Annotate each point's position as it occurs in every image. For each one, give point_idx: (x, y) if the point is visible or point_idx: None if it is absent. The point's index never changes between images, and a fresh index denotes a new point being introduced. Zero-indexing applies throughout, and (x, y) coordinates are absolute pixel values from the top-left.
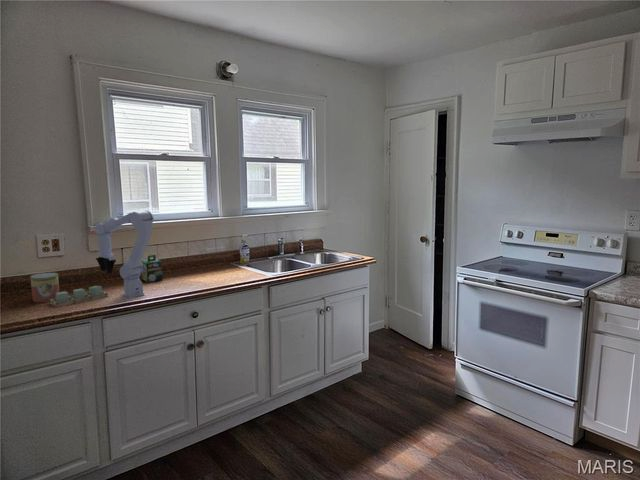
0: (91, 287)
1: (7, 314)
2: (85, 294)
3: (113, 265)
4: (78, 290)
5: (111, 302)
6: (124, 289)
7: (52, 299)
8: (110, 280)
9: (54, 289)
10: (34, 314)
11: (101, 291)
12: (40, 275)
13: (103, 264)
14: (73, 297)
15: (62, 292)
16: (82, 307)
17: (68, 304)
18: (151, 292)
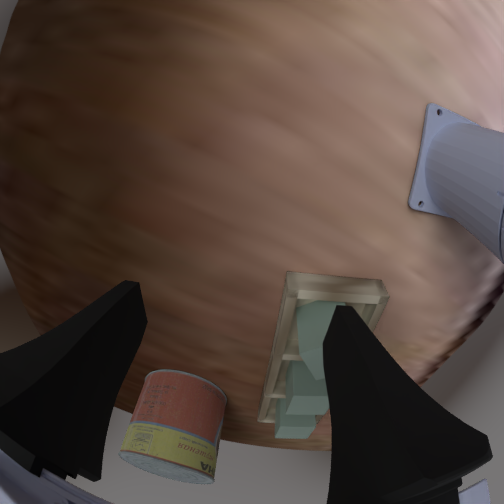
0: (323, 372)
1: (268, 446)
2: (301, 359)
3: (416, 386)
4: (318, 408)
5: (452, 304)
6: (458, 222)
7: (264, 419)
8: (18, 95)
9: (216, 428)
10: (323, 433)
11: None
12: (157, 470)
13: (99, 367)
14: (286, 384)
15: (289, 431)
16: None
17: None
18: (494, 85)
